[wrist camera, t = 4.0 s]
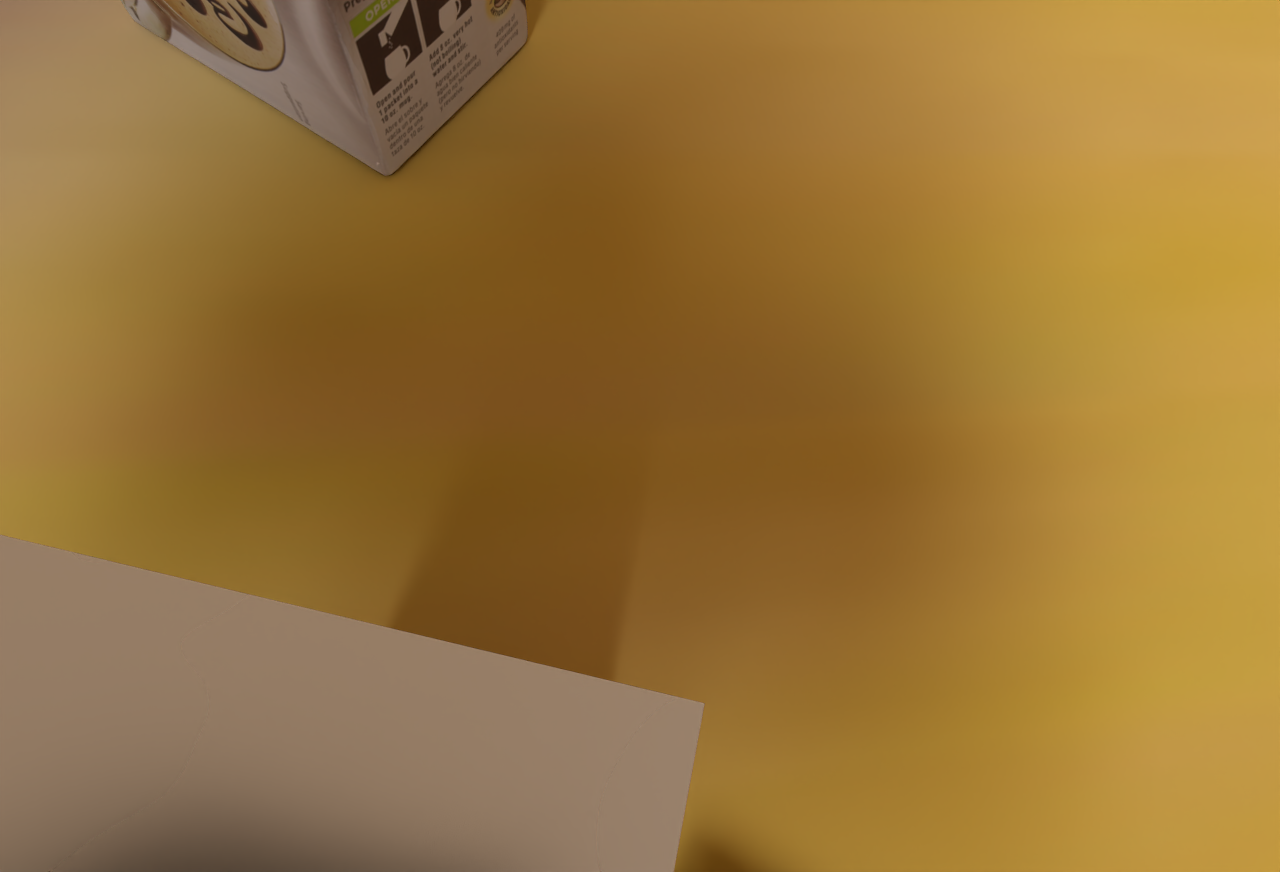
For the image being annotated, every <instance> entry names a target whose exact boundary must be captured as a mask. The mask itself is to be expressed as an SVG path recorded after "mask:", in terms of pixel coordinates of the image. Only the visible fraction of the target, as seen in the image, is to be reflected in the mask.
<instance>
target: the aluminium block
mask: <svg viewBox="0 0 1280 872" xmlns="http://www.w3.org/2000/svg"><path fill="white" fill-rule="evenodd" d="M704 704H705V703H701V702H697V701H693V700H689V699H685V698H680V697H676V696H672V695H668V694H664V693H659V692H655V691H651V690H647V689H643V688H639V687H634V686H630V685H626V684H622V683H618V682H614V681H609V680H605V679H601V678H597V677H593V676H588V675H584V674H580V673H576V672H572V671H568V670H563V669H559V668H555V667H551V666H547V665H542V664H538V663H534V662H530V661H526V660H522V659H517V658H513V657H509V656H505V655H501V654H496V653H492V652H488V651H484V650H480V649H476V648H471V647H467V646H463V645H459V644H455V643H450V642H446V641H442V640H438V639H434V638H430V637H425V636H421V635H417V634H413V633H409V632H404V631H400V630H396V629H392V628H388V627H384V626H379V625H375V624H371V623H367V622H363V621H358V620H354V619H350V618H346V617H342V616H338V615H333V614H329V613H325V612H321V611H317V610H313V609H308V608H304V607H300V606H296V605H292V604H287V603H283V602H279V601H275V600H271V599H267V598H262V597H258V596H254V595H250V594H246V593H241V592H237V591H233V590H229V589H225V588H221V587H216V586H212V585H208V584H204V583H200V582H195V581H191V580H187V579H183V578H179V577H175V576H170V575H166V574H162V573H158V572H154V571H149V570H145V569H141V568H137V567H133V566H129V565H124V564H120V563H116V562H112V561H108V560H103V559H99V558H95V557H91V556H87V555H83V554H78V553H74V552H70V551H66V550H62V549H57V548H53V547H49V546H45V545H41V544H37V543H32V542H28V541H24V540H20V539H16V538H11V537H7V536H3V535H0V872H674V867H675V862H676V856H677V851H678V845H679V840H680V835H681V829H682V824H683V818H684V813H685V807H686V802H687V796H688V791H689V786H690V780H691V775H692V769H693V764H694V758H695V753H696V748H697V742H698V737H699V731H700V726H701V720H702V715H703V709H704Z"/></svg>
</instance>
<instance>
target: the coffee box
mask: <svg viewBox="0 0 1280 872" xmlns="http://www.w3.org/2000/svg"><path fill="white" fill-rule="evenodd" d="M121 1H122V3H123V5H124V7H125V8H126V9H127V11H128V12H129V14H130V15H131V17H132V18H133V20H134V21H136V22H137V23H139V24H140V25H142V26H143V27H145V28H147V29H148V30H150V31H151V32H153V33H154V34H156V35H158V36H159V37H161V38H162V39H164V40H166V41H167V42H169V43H170V44H172V45H174V46H175V47H177V48H178V49H180V50H182V51H183V52H185V53H187V54H188V55H190V56H191V57H193V58H195V59H196V60H198V61H199V62H201V63H203V64H204V65H206V66H208V67H209V68H211V69H212V70H214V71H216V72H217V73H219V74H221V75H222V76H224V77H226V78H227V79H229V80H230V81H232V82H234V83H235V84H237V85H239V86H240V87H242V88H243V89H245V90H247V91H248V92H250V93H252V94H253V95H255V96H256V97H258V98H260V99H261V100H263V101H265V102H266V103H268V104H269V105H271V106H273V107H274V108H276V109H278V110H279V111H281V112H282V113H284V114H286V115H287V116H289V117H291V118H292V119H294V120H295V121H297V122H299V123H300V124H302V125H303V126H305V127H307V128H308V129H310V130H311V131H313V132H315V133H316V134H318V135H319V136H321V137H323V138H324V139H326V140H328V141H329V142H331V143H332V144H334V145H336V146H337V147H339V148H341V149H342V150H344V151H346V152H347V153H349V154H350V155H352V156H354V157H355V158H357V159H358V160H360V161H362V162H363V163H365V164H366V165H368V166H370V167H371V168H373V169H374V170H376V171H378V172H379V173H381V174H383V175H385V176H387V175H391V174H392V173H393V172H395V171H396V170H397V169H398V168H399V167H400V166H401V165H402V164H403V163H404V162H405V161H406V160H407V159H408V158H409V157H410V156H411V155H412V154H413V153H415V152H416V151H417V150H418V149H419V148H420V147H421V146H422V145H423V144H424V143H425V142H426V141H427V140H428V139H429V138H430V137H431V136H432V135H433V134H434V133H435V132H436V131H437V130H438V129H439V128H440V127H441V126H442V125H443V124H444V123H445V122H446V121H447V120H448V119H449V118H450V117H451V116H452V115H453V114H454V113H455V112H456V111H457V110H458V109H459V108H460V107H461V106H462V105H463V104H465V103H466V102H467V101H468V100H469V99H470V98H471V97H472V96H473V95H474V94H475V93H476V92H477V91H478V90H479V89H480V88H481V87H482V86H483V85H484V84H485V83H486V82H487V81H488V80H489V79H490V78H491V77H492V76H493V75H494V74H495V73H496V72H497V71H498V70H499V69H500V68H501V67H502V66H503V65H504V64H505V63H506V62H507V61H508V60H509V59H510V58H511V57H512V56H513V55H514V54H515V53H516V52H517V51H518V50H519V49H520V48H521V47H522V46H523V45H524V44H525V42H526V40H527V36H528V26H527V14H526V4H525V0H121Z"/></svg>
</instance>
